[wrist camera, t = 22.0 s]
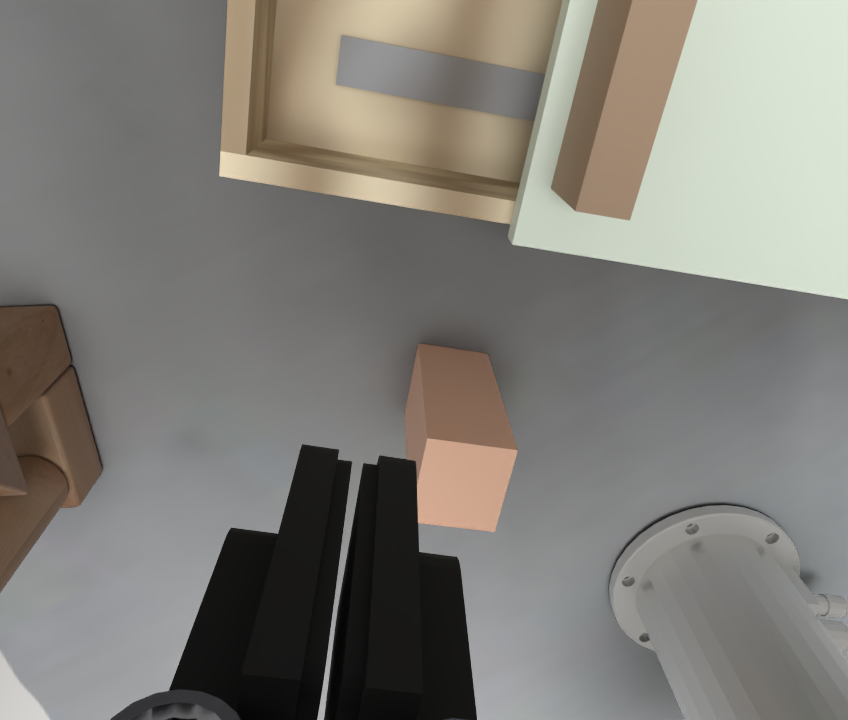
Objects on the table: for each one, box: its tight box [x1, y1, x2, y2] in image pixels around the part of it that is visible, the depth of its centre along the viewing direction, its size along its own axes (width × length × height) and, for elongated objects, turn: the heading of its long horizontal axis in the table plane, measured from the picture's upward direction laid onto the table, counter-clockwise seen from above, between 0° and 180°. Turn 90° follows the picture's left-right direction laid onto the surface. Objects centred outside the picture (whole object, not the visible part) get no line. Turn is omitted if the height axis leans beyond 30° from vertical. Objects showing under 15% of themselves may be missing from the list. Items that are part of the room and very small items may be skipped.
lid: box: [508, 0, 848, 299], centre depth 25 cm, size 21×15×5 cm
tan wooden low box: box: [219, 0, 563, 224], centre depth 29 cm, size 20×14×6 cm
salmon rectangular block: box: [405, 343, 518, 532], centre depth 35 cm, size 4×4×10 cm
